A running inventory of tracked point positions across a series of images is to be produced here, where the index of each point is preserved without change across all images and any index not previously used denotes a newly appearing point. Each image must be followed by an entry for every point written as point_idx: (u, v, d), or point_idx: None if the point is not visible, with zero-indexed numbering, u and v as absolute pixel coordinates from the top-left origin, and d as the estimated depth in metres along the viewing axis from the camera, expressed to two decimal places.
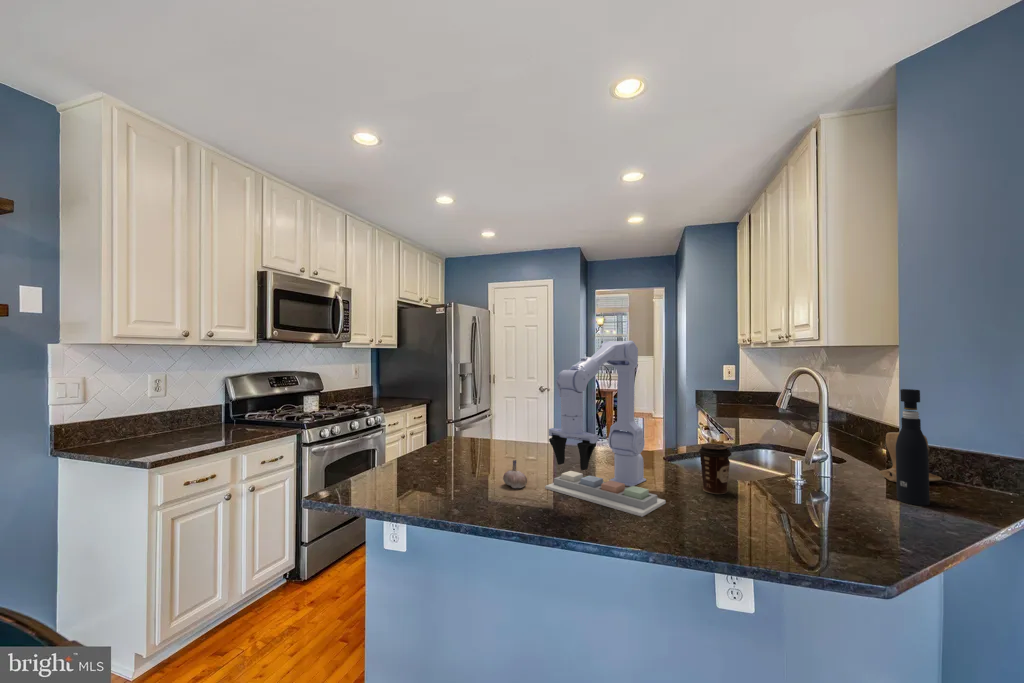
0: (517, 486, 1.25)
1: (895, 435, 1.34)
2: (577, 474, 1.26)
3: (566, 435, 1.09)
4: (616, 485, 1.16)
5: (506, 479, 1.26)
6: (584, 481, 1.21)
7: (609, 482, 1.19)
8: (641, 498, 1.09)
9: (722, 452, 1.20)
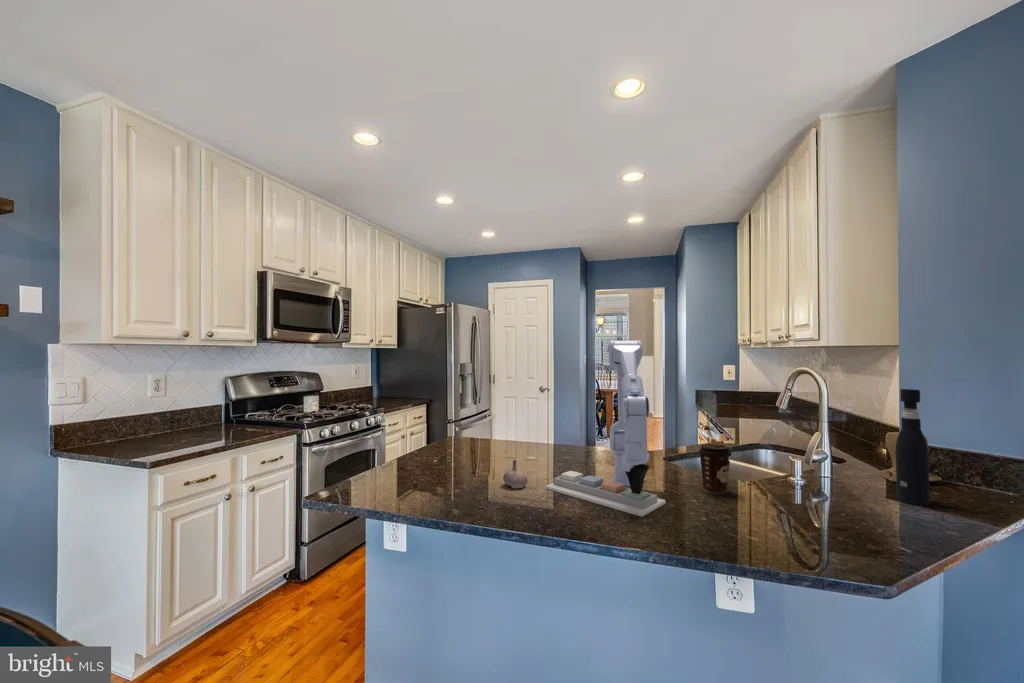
0: (517, 486, 1.25)
1: (895, 435, 1.34)
2: (577, 474, 1.26)
3: (621, 457, 1.14)
4: (616, 485, 1.16)
5: (506, 479, 1.26)
6: (584, 481, 1.21)
7: (609, 482, 1.19)
8: None
9: (722, 452, 1.20)
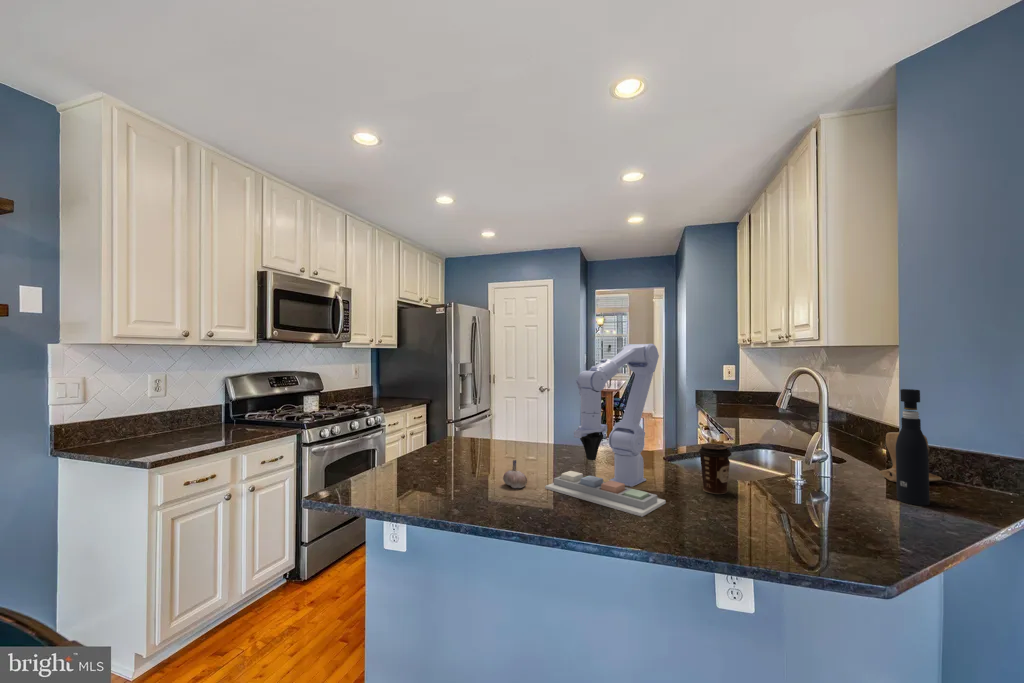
0: (517, 486, 1.25)
1: (895, 435, 1.34)
2: (577, 474, 1.26)
3: (578, 427, 1.24)
4: (616, 485, 1.16)
5: (506, 479, 1.26)
6: (584, 481, 1.21)
7: (609, 482, 1.19)
8: None
9: (722, 452, 1.20)
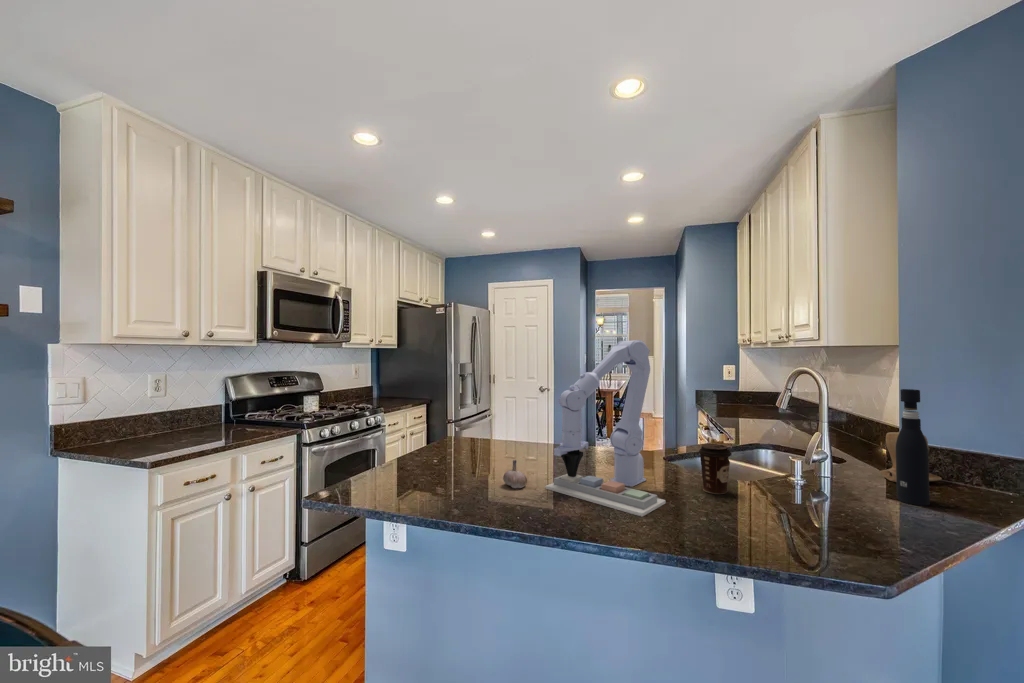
0: (517, 486, 1.25)
1: (895, 435, 1.34)
2: (577, 476, 1.26)
3: (560, 445, 1.29)
4: (616, 485, 1.16)
5: (506, 479, 1.26)
6: (584, 481, 1.21)
7: (609, 482, 1.19)
8: None
9: (722, 452, 1.20)
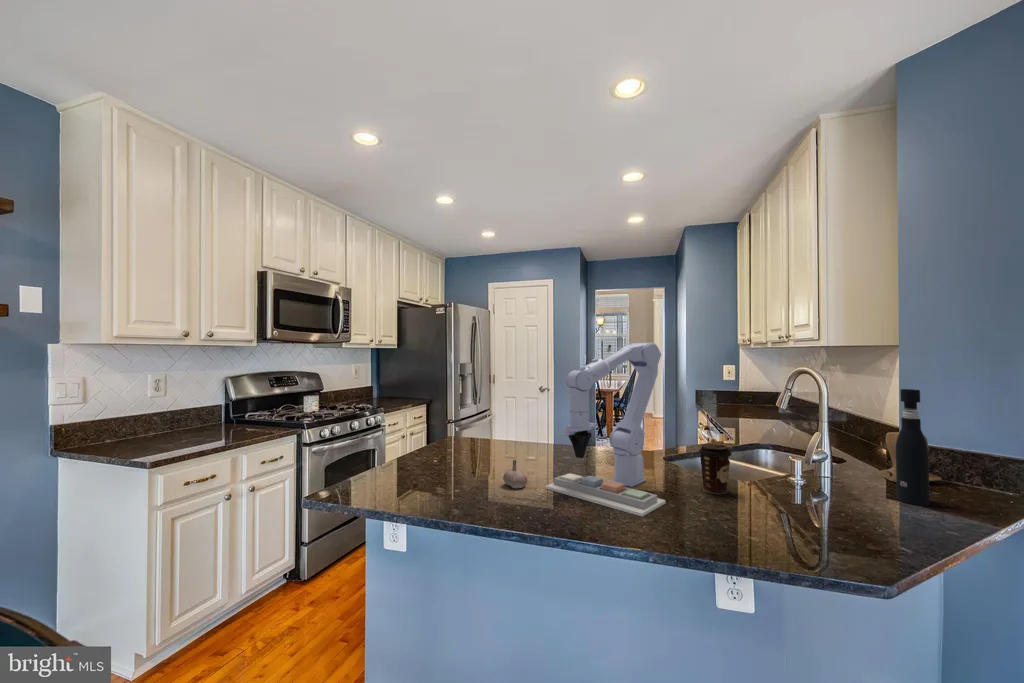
0: (517, 486, 1.25)
1: (895, 435, 1.34)
2: (577, 477, 1.26)
3: (567, 426, 1.27)
4: (616, 485, 1.16)
5: (506, 479, 1.26)
6: (584, 481, 1.21)
7: (609, 482, 1.19)
8: None
9: (722, 452, 1.20)
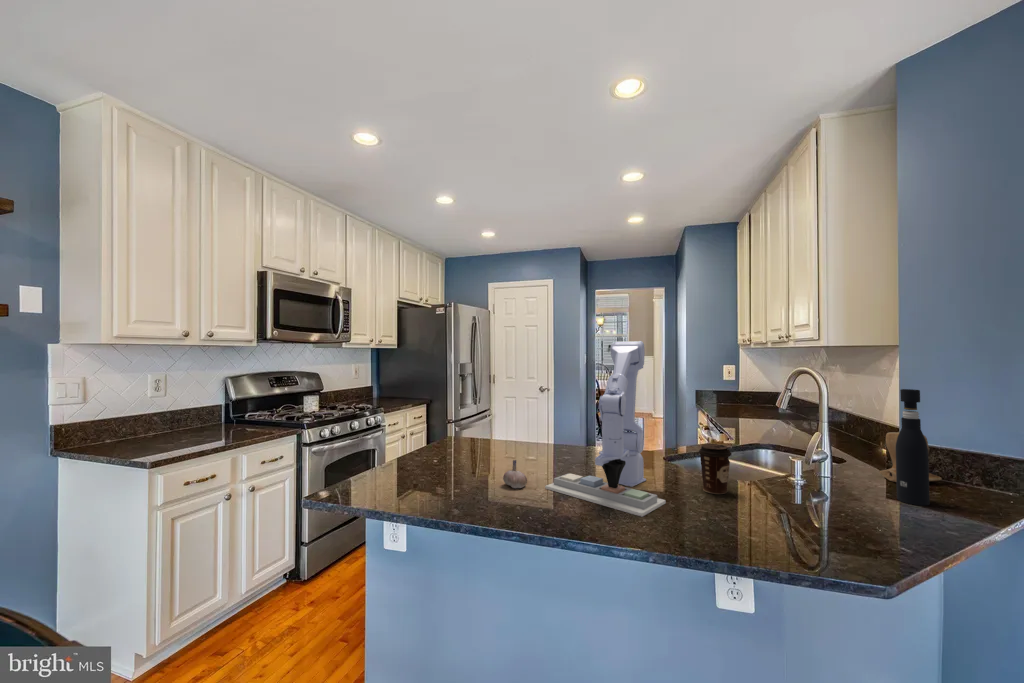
0: (517, 486, 1.25)
1: (895, 435, 1.34)
2: (577, 477, 1.26)
3: (599, 453, 1.19)
4: (616, 488, 1.16)
5: (506, 479, 1.26)
6: (584, 481, 1.21)
7: None
8: None
9: (722, 452, 1.20)
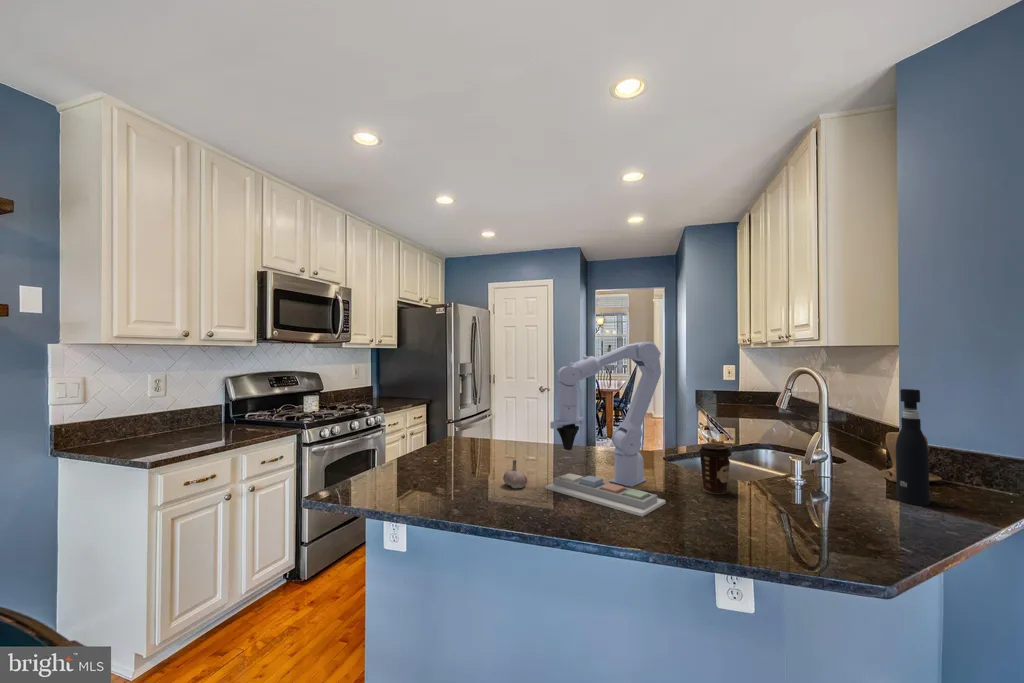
0: (517, 486, 1.25)
1: (895, 435, 1.34)
2: (577, 477, 1.26)
3: (556, 419, 1.33)
4: (616, 488, 1.16)
5: (506, 479, 1.26)
6: (584, 481, 1.21)
7: (609, 485, 1.19)
8: None
9: (722, 452, 1.20)
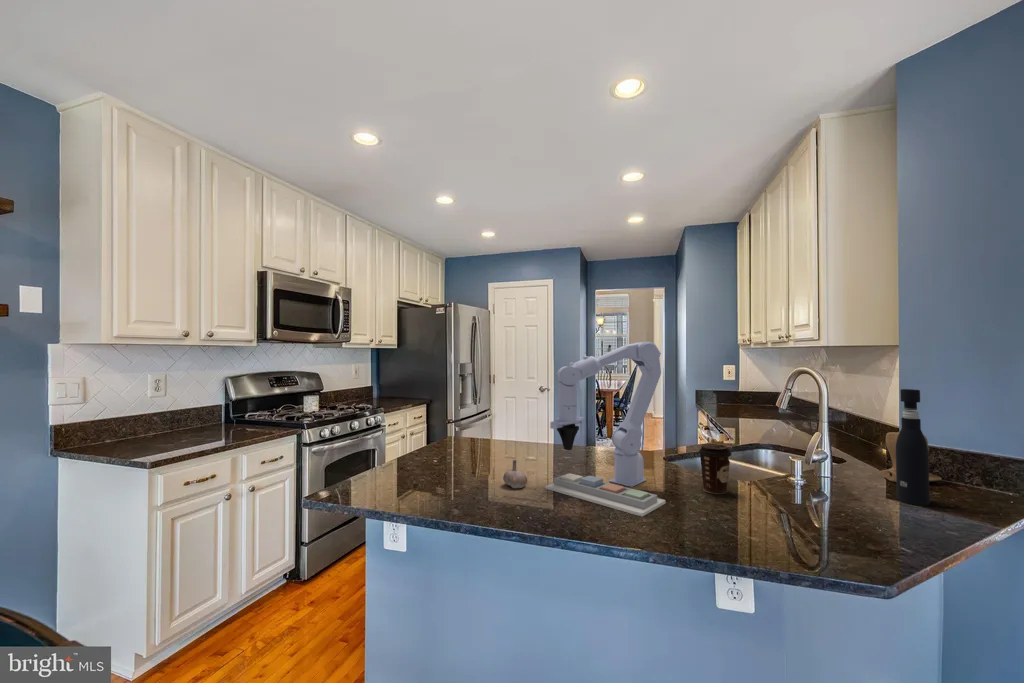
0: (517, 486, 1.25)
1: (895, 435, 1.34)
2: (577, 477, 1.26)
3: (556, 419, 1.33)
4: (616, 488, 1.16)
5: (506, 479, 1.26)
6: (584, 481, 1.21)
7: (609, 485, 1.19)
8: None
9: (722, 452, 1.20)
